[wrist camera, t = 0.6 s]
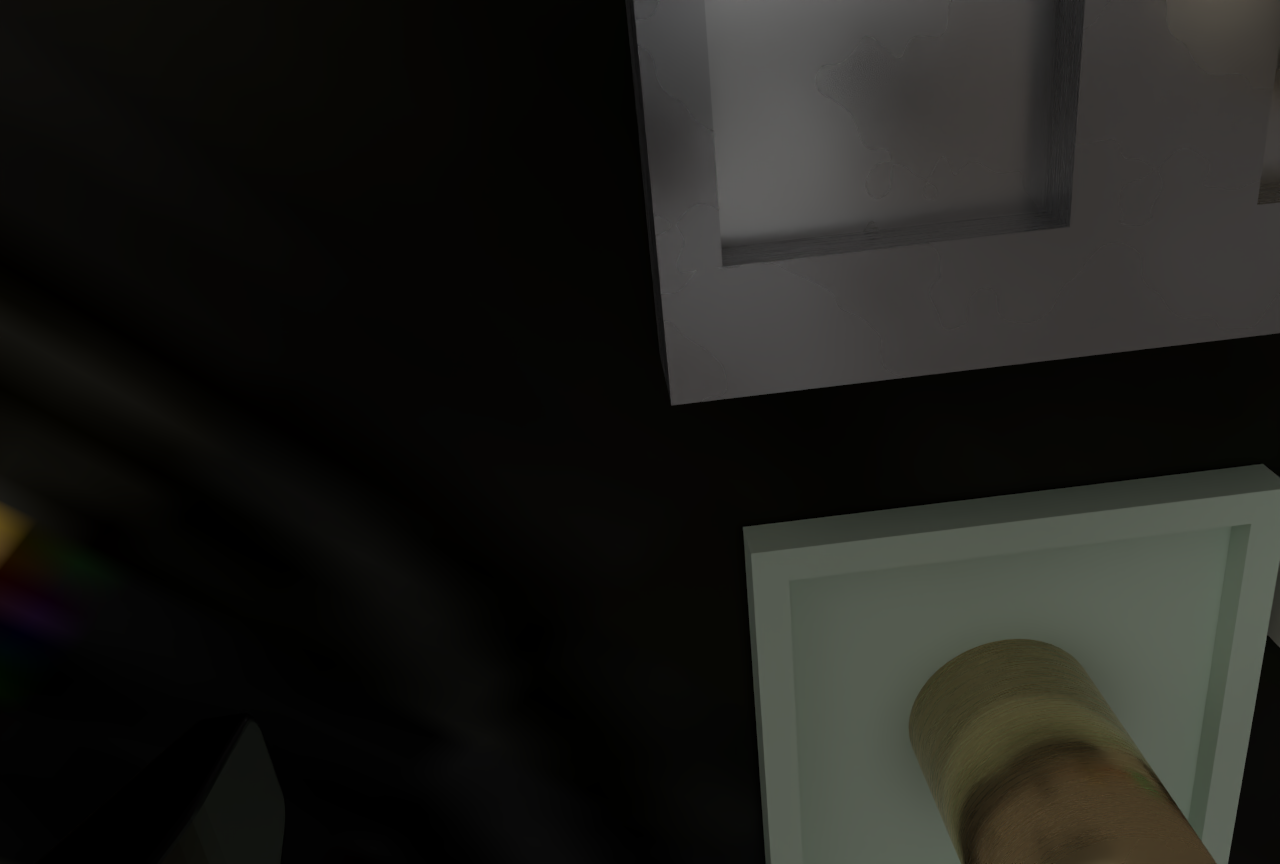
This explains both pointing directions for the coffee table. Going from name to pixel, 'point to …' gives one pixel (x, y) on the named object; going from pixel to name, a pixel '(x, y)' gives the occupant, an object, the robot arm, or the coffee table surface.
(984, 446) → the coffee table surface
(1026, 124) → the pallet plate
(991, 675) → the billet
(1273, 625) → the button console
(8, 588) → the coffee table surface
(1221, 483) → the pad
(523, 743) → the coffee table surface
